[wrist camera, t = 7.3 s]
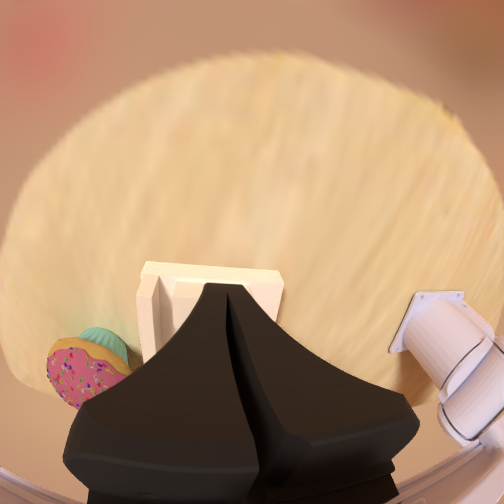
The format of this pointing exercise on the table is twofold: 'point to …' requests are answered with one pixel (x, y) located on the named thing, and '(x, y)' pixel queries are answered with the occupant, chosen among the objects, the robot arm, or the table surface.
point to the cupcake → (87, 365)
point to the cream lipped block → (192, 296)
